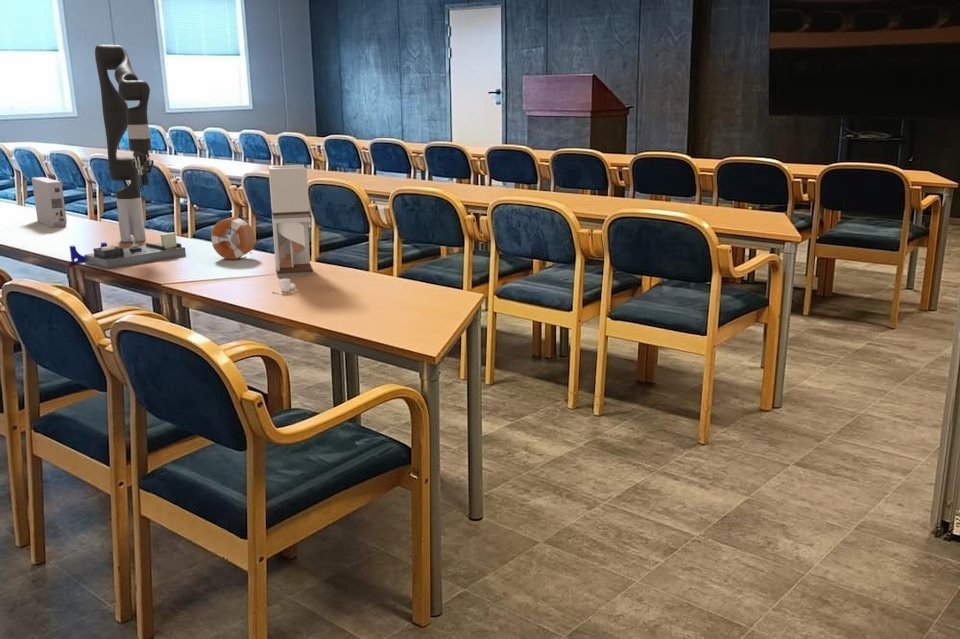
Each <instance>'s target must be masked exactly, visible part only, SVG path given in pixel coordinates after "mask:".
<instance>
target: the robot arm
mask: <svg viewBox="0 0 960 639" xmlns="http://www.w3.org/2000/svg"><path fill="white" fill-rule="evenodd" d="M94 57H95V59H94V60H95V63H96V69H97V70H96V71H97V75H98V81H99V86H100V94H101V106H102V107H101V108H102V109H101V110H102V115H103V123H104V128H105V129H104V130H105V137H106V148H107V163H108V173H109V177H110V179H111V180H112V181H114V182H115V181H119V182H120V181H122V182H123V181H124V182H125V181H130V184H128V185H126V186H125V187H123V188H121V189H118V190H116V192H115V198H116V206H117V216H118V217H117V219H118V229H119V235H120V241H121V242H123V243H132V241H131V238H130V236H131V235H133V236H134V239H135V242H136V243H138V242H143V241H146V239H147V238H146V230H145V221H144V211H143V203H142V195H141V186H148V185H149V181H148V180H149V179H148V175H149V174H151V172H152V169H153V167H154V163H155V161H154V160H153V159H150V154H149V151H151V150H152V141H151V132H150V128H149V120H148V105H149V99H150V93H151V89H150V85H149V83H147V81H145V80H139V78H138V76H137V75H136V73H135V72H134V70H133V68H132V65H131V60H130V58H129V55H128V53H127V50H126V49H125V47H124V46H122V45H121V44H120V45H119V44H97V45H96V46H95V48H94ZM108 71H114V79H115V81H116V82H117V85H118V90H117V89H116V87H115V86H114V84H113V82H112V81H111V79H110V76H109V73H108ZM126 101H127V102H131V101H132V102H133V101H134V102H135V101H139V103H138V104H137V105H136V106H134V107H128V103H127V102H126ZM126 132H127V139H128V148H129V151H130V152H132V156H117V152H118V148H119V144H120V143H121V141H122V139H123V136H124V134H126ZM140 185H141V186H140Z"/></svg>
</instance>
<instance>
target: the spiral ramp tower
mask: <svg viewBox="0 0 960 639" xmlns="http://www.w3.org/2000/svg"><path fill="white" fill-rule="evenodd" d="M268 178H269V179H268V180H269V192H270V193H269V194H270V207H271V208H270V209H271V221H272V233H273V234H272V235H273V247H274V262H275V263H274V264H275V273H276V276H277V278H278V277H279V278H291V277H290V276H295V277H306V276H305V275H310V276H314V270H313V269H314V268H313V267H312V265H311V257H310V242H309V241H310V240H309V225H308V224H309V223H310V222H311V220H310V219H311V216H310V204H309V203H310V201H309V185H308V168H307V167H305V164H290V165H288V164H287V165H268ZM308 222H309V223H308Z"/></svg>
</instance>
